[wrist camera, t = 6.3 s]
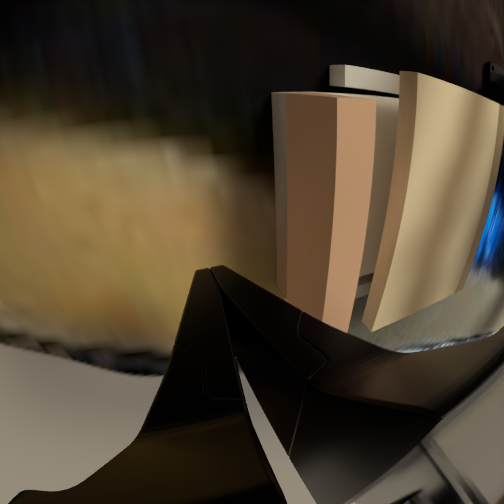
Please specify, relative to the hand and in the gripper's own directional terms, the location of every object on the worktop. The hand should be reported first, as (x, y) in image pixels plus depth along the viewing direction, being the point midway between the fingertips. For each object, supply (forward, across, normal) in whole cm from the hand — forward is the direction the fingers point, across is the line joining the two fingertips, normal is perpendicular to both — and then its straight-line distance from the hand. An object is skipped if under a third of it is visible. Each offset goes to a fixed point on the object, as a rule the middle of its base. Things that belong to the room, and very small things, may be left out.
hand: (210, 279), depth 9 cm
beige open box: (+5, -11, 0) cm, 12 cm away
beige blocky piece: (+5, -10, 0) cm, 11 cm away
